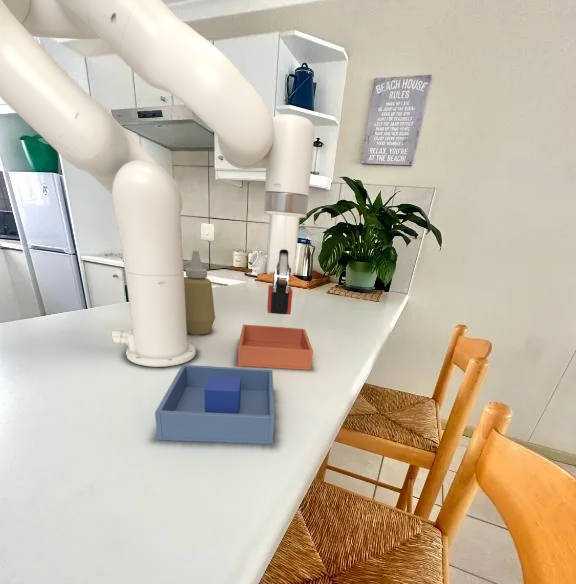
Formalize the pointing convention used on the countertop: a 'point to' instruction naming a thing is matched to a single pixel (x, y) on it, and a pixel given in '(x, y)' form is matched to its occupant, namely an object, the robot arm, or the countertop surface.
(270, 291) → the red block
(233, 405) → the blue block
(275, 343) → the red bin
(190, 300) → the squeeze bottle
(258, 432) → the blue bin
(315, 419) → the countertop surface
